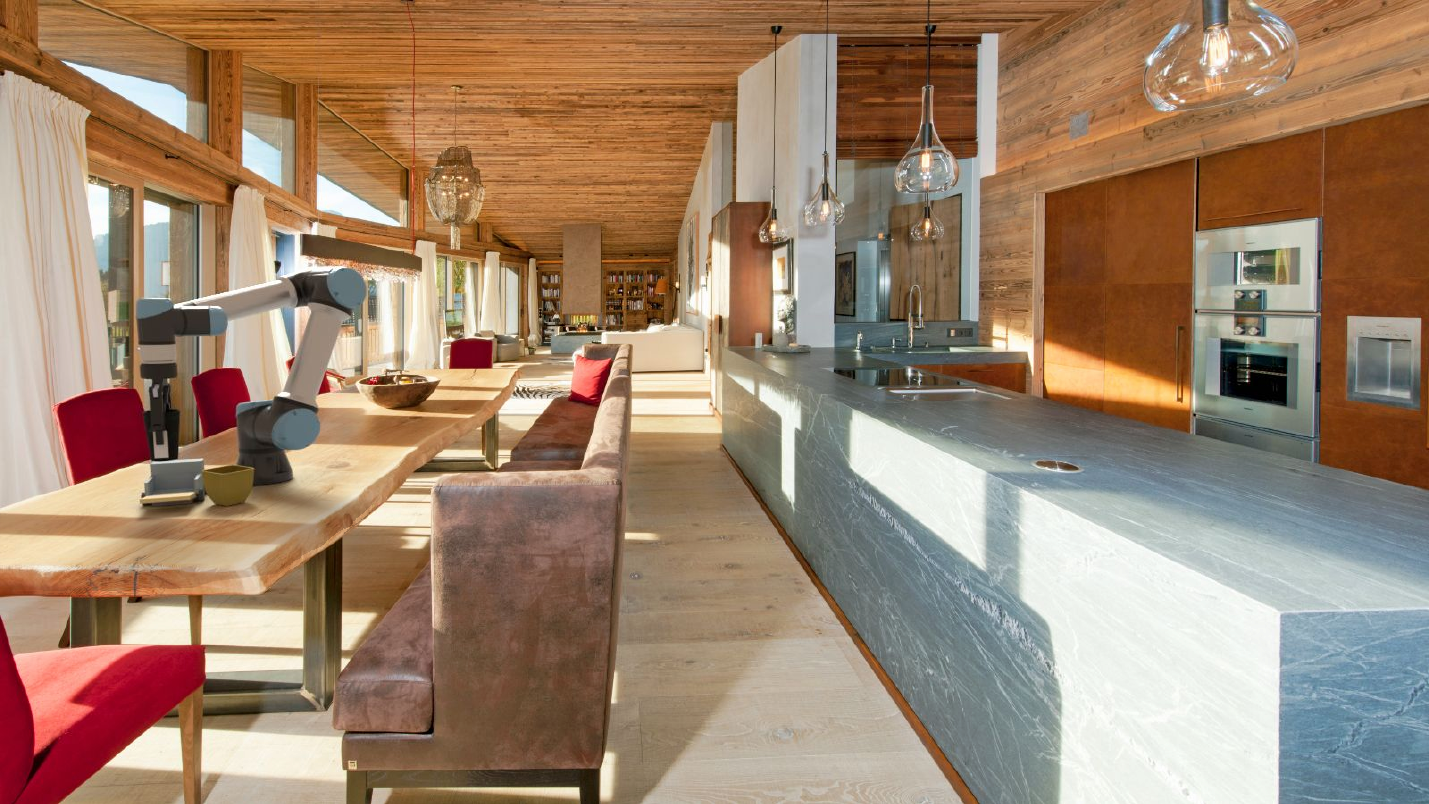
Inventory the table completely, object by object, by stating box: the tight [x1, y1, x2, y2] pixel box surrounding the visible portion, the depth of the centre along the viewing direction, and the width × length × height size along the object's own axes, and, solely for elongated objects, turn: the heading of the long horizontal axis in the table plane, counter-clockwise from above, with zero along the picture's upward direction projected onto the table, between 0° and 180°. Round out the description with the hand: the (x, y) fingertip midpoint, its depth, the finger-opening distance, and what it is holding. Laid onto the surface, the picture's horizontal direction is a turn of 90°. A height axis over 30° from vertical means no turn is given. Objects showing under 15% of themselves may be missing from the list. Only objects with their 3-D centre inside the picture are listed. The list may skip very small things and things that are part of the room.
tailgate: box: [139, 492, 197, 505], centre depth 205 cm, size 10×1×9 cm
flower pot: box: [201, 464, 254, 507], centre depth 211 cm, size 9×9×9 cm
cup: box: [142, 408, 181, 462], centre depth 203 cm, size 8×8×12 cm
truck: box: [140, 458, 207, 507], centre depth 215 cm, size 13×14×9 cm
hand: (164, 454), depth 203 cm, fingers closed on cup, 8 cm apart
